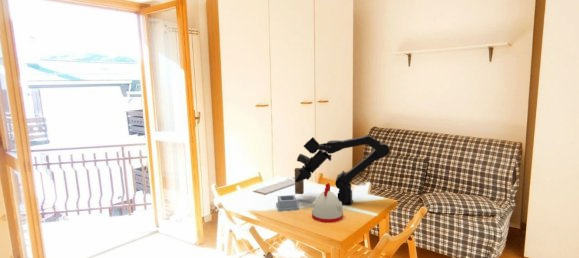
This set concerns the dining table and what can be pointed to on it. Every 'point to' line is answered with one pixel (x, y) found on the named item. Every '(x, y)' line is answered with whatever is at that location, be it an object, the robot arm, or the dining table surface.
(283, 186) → the baseboard molding
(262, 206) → the dining table surface
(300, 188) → the brown wooden block
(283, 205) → the end cap
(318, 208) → the kitchen timer
